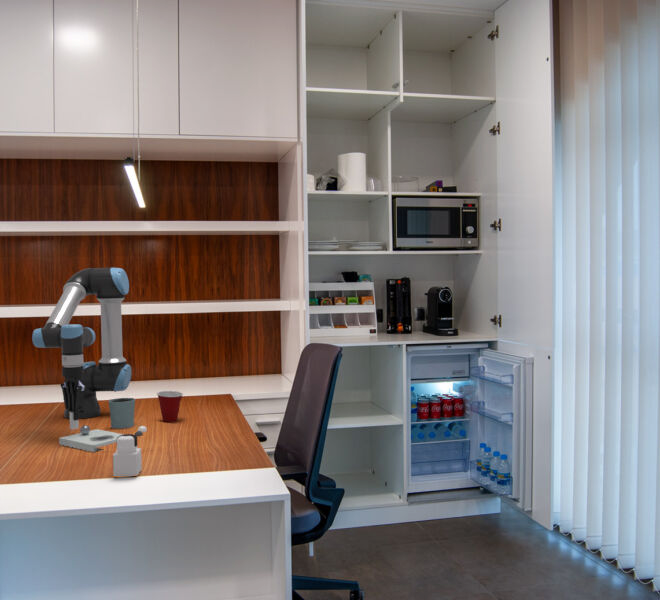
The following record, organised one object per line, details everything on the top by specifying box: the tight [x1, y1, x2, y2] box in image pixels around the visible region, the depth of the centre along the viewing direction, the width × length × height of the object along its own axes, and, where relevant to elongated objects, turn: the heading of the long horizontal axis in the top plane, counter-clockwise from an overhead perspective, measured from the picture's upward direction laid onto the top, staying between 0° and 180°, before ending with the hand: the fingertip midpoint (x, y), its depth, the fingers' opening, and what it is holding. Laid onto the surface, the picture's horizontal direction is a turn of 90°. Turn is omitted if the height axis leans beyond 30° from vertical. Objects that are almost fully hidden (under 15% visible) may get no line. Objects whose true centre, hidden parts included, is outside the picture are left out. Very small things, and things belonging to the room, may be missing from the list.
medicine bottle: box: [112, 433, 143, 477], centre depth 202 cm, size 7×7×12 cm
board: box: [58, 428, 124, 453], centre depth 240 cm, size 20×16×2 cm
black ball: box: [134, 430, 144, 437], centre depth 247 cm, size 3×3×3 cm
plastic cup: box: [156, 390, 184, 423], centre depth 277 cm, size 11×11×12 cm
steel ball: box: [79, 424, 91, 435], centre depth 244 cm, size 4×4×4 cm
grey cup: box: [108, 397, 136, 430], centre depth 262 cm, size 10×10×12 cm
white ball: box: [137, 425, 148, 433], centre depth 253 cm, size 4×4×4 cm
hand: (74, 428), depth 247 cm, fingers closed
